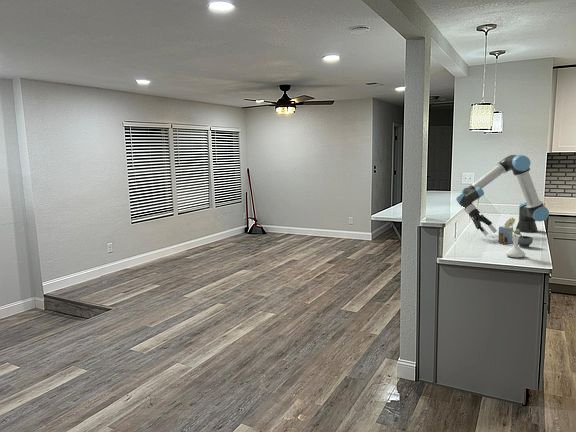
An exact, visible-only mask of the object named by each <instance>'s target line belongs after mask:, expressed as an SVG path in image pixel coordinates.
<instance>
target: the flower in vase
mask: <svg viewBox="0 0 576 432" xmlns="http://www.w3.org/2000/svg"><path fill="white" fill-rule="evenodd" d="M515 222H516V218H514V217H509V218H508V219H507V220H506V221H505V223H504V224H503V227H506V228H509V227H511V228H513V231H512V230H510V231H509V232H508V233H509V234H511V233H512V232H513V235H512V240H513V246H512V247H510V248H509V249H508V250H506V251H505V252H504V253H505V254H504V255H506V256H507V257H511V258H525V256H526V252H525V251H524V250H522V248H520V247H519V244H518V239H519V237H520V236H521V235H522V234H521V235H517V234H516V233H519V229H518V230H516V229H514V227H513V225H514V224H515ZM515 230H516V231H515Z"/></svg>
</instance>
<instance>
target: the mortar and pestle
mask: <svg viewBox="0 0 576 432" xmlns="http://www.w3.org/2000/svg"><path fill="white" fill-rule="evenodd" d="M515 231H516V229H514V232H515ZM521 233H522V232H519V233H515V234H517V235H521V236H520V237H519V239H518V247H519V248H520V249H530V245H532V244H533V240H534V237H532V236H527V235H522V234H521Z"/></svg>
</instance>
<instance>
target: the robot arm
mask: <svg viewBox="0 0 576 432" xmlns="http://www.w3.org/2000/svg"><path fill="white" fill-rule="evenodd" d="M530 166H531V160H530V158H529V157H528V156H526V155H522V154H511V155H507V156H506V157H504V158H503V159H502V160H500V161H499V162H497V163H496V166H494V167H493V168H491V169H490V170H489V171H488V172H486V173H485V174H484V175H482V176H481V177H479V178H478V179H477V180H475V181H474V182H473V183H472V184H470V185H469V186H467V187H463V189H461V194H459V195H458V196H456V198H455V200H456V201H457V203H458V204H459V205H460V206H461V207H462V206H463V207H465V209H463V210H464V211H465V213H467V215H468V217H470V219H471V220H472V222H473V224H474V227H475V228H476V229H477V230H480V232H481V233H482V234H483V235H484V236H485V237H486V236H487V235H488V234H489V233H488V231H487V230H486V228H485V227H484V226H482V223H483V224H484V225H486V226H488V228H489V229H490V230H491V232H492V233H493V234H496V233H497V232H498V230H497V229H496V227H494V225H493V222H492V221H491V220H490V219H488V218H487V217H486V216H485V215H483V214H480V210H479V209H478V208H477V207H476V206H475V205H474V202H475V201H476V200H479V199H480V198H482V197H483V196H484V195H485V192H484V190H483V189H484V188H485V187H486V186H488V185H489V184H491V183H492V182H493V181H494V180H495V179H497V178H499V177H500V176H501V175H503V174H506V173H508V172H510V171H512V174H513V175H514V176H516V177H517V181H518V183H519V185H520V188H521V191H522V193H523V197H524V199H525V202H521V203H519V206H518V207H519V211H518V222H517V224H516V226H515V230H518V229H519V232H520V233H537V232H538V227H537V223H536V222H544V221H546V220H547V218H548V217H549V215H550V210H549V209H548V208H547V207H546V206H545V205H544V202H543V201H541V200H540V198H539V195H538V193H537V190H536V187H535V185H534V183H533V182H534V181H533V180H532V177H531V175H530V171H531V168H530Z"/></svg>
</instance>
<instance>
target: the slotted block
mask: <svg viewBox="0 0 576 432" xmlns="http://www.w3.org/2000/svg"><path fill="white" fill-rule="evenodd" d="M510 230H512V231H513V230H514V227H513V228H512V226H510V227H509V228H506V227H504V225H503V226H498V234H499V233H503V237H507V243H506V244H507V245H508V244H512V243H513V236H512V235H513V234H514V231H513V232H512V233H511V234H509V233H508V232H509V231H510ZM497 240H498V243H499V236H498V239H497Z"/></svg>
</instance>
